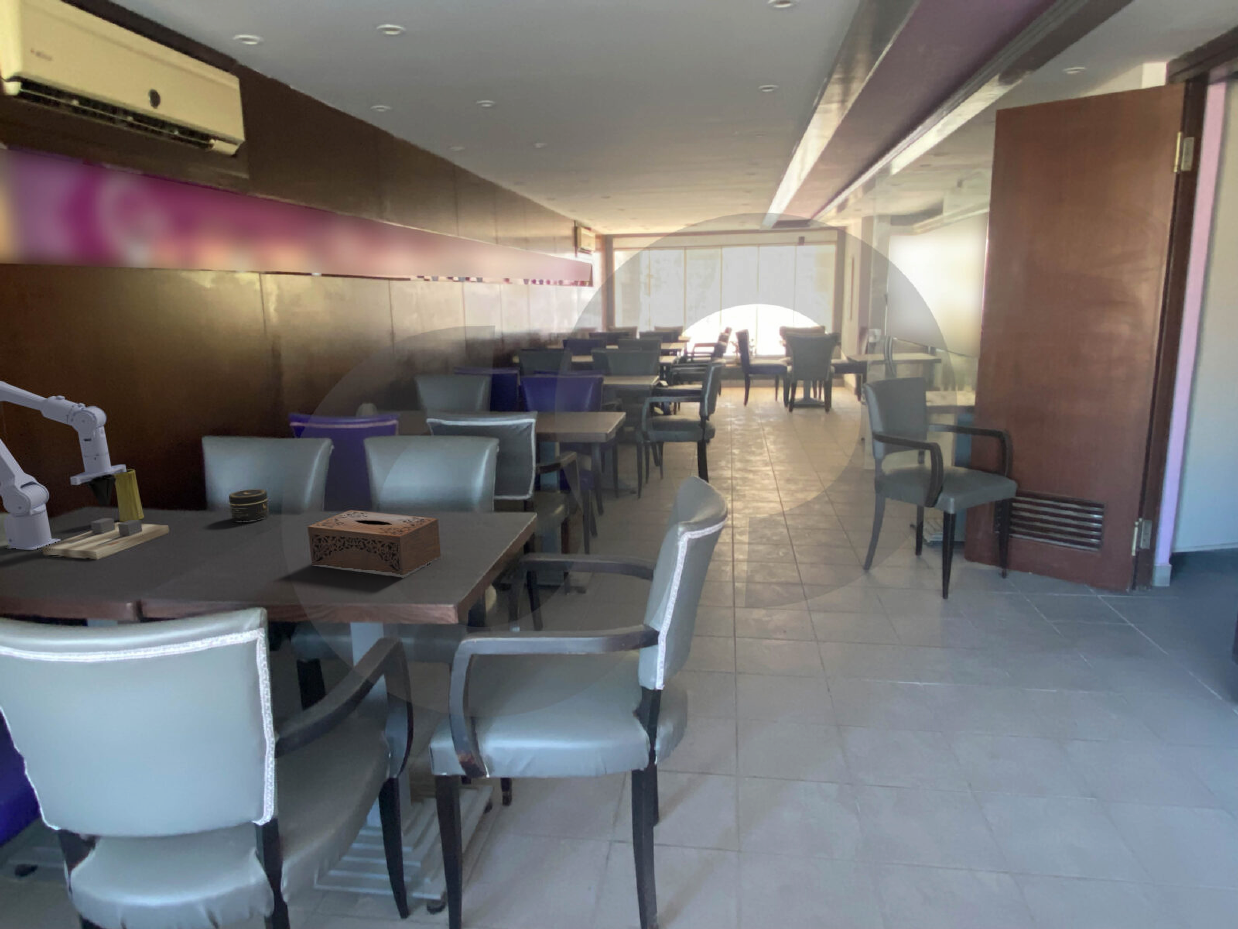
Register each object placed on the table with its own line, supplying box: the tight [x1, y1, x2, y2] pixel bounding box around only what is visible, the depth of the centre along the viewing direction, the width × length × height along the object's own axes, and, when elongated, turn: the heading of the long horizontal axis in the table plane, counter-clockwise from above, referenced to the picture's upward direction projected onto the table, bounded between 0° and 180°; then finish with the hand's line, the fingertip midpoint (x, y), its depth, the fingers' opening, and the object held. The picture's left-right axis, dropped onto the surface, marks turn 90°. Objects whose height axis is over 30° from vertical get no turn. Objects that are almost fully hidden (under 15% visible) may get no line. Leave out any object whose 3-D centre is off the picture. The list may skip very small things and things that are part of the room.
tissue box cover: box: [307, 509, 442, 575], centre depth 184 cm, size 26×14×10 cm, turn 68°
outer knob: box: [118, 519, 142, 536], centre depth 205 cm, size 3×4×3 cm
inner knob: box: [90, 517, 115, 534], centre depth 207 cm, size 3×4×3 cm
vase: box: [113, 468, 145, 523], centre depth 225 cm, size 6×6×14 cm
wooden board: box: [41, 521, 170, 560], centre depth 204 cm, size 17×22×2 cm
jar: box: [228, 488, 270, 522], centre depth 223 cm, size 10×10×8 cm
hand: (104, 504), depth 205 cm, fingers closed
